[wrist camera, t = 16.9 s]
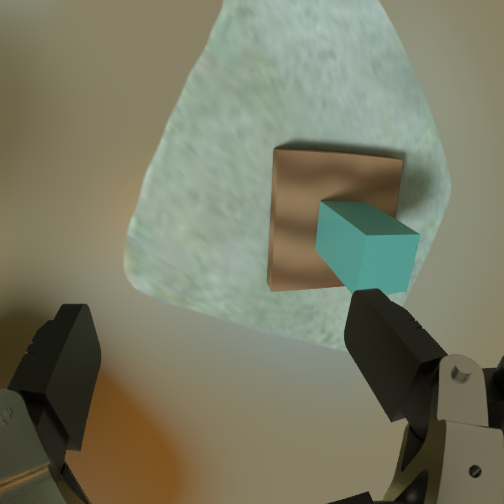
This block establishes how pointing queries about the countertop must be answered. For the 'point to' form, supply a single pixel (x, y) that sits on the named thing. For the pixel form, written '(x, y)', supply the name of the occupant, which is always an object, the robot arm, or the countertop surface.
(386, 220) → the tall teal pillar
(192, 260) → the countertop surface
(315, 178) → the post stand
